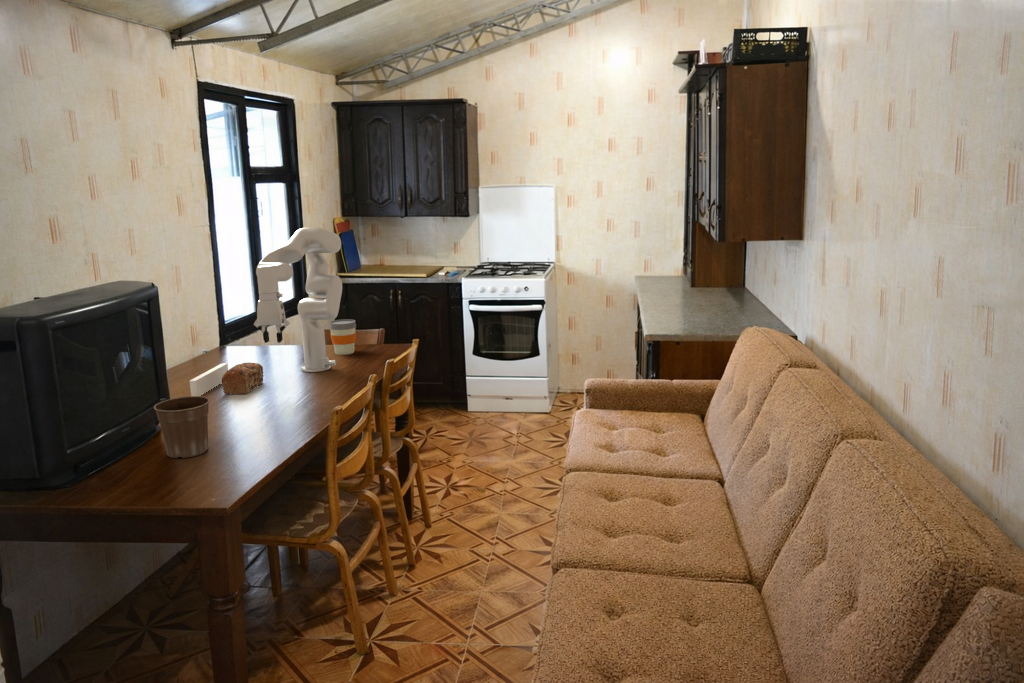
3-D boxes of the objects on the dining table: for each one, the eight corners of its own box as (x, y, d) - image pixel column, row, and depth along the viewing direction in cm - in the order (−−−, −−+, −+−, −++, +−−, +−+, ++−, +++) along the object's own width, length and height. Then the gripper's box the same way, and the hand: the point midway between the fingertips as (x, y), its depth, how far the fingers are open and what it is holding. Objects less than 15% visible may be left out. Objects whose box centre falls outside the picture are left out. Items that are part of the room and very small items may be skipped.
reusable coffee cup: (326, 354, 384) (324, 323, 381) (339, 349, 396) (337, 318, 393) (350, 356, 380) (348, 324, 377) (362, 350, 392) (360, 319, 389)
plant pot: (149, 454, 254) (143, 405, 250) (196, 440, 266) (191, 393, 263) (177, 465, 244) (171, 413, 240) (225, 449, 256) (220, 400, 253)
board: (229, 379, 343) (227, 363, 342) (197, 398, 316) (195, 380, 314) (223, 379, 343) (221, 363, 342) (191, 398, 316) (189, 380, 315)
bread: (247, 395, 319) (245, 370, 317) (221, 395, 320) (218, 370, 318) (265, 382, 337) (263, 359, 335) (240, 382, 338) (238, 359, 336)
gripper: (293, 295, 322) (297, 340, 325) (252, 295, 323) (256, 340, 327) (286, 298, 314) (290, 344, 318) (244, 298, 316) (248, 344, 320)
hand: (273, 341), depth 323 cm, fingers open, 4 cm apart
